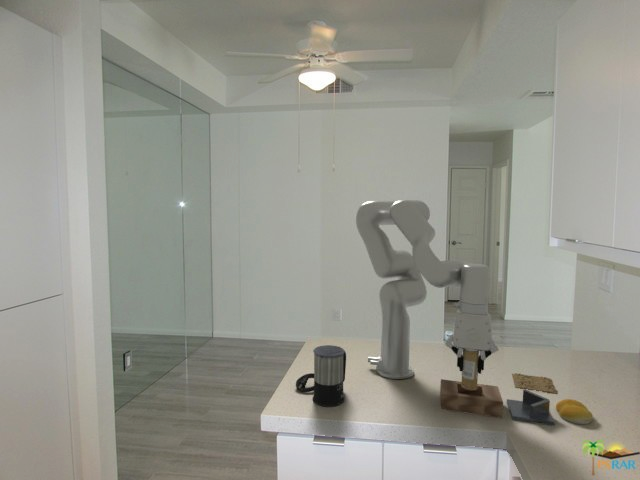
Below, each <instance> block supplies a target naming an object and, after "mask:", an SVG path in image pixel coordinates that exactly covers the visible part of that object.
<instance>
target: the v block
mask: <svg viewBox="0 0 640 480" xmlns="http://www.w3.org/2000/svg"><path fill="white" fill-rule="evenodd" d="M550 402H551V400H550V399H549V398H546V397H544V396H541V395H539V394H538V393H535V392H533V391H531V390H526V389H522V400H516V399H515V400H514V399H510V398H509V399H506V405H507V408H508V411H509V413H510V417H511V420H512V419H513V420H514V421H521V422H527V423H533V424H541V425H547V426H555V421H554V418H553V417H552V415H551V413H550V407H551V405H550V404H551V403H550Z"/></svg>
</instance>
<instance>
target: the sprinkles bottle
mask: <svg viewBox="0 0 640 480" xmlns="http://www.w3.org/2000/svg"><path fill="white" fill-rule="evenodd" d="M462 355H463V369H462V371H461V381H460V382H461V386H462V388H464V389H466V390H471V391H472V390H476V389H477V388H478V386H477V384H478V379H479V378H478V377H479V373H478V359H479V355H480V351H479V350H471V349H463V352H462Z"/></svg>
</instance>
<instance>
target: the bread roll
mask: <svg viewBox="0 0 640 480" xmlns="http://www.w3.org/2000/svg"><path fill="white" fill-rule="evenodd" d="M555 410H556V412H557V413H558V415H559V416H560V418H561V419H563V420H565V421H568V422H570V423H573V424H576V425H577V424H578V425H587V424H590V423H592V421H593V418H594V416H593V414H592V412H591V411H590V410H589V408H588V407H587V406H586V405H584V404H583V403H582V402H580V401H578V400H576V399H571V398H565V399H562V400H560V401H558V402H557V403H556V405H555Z"/></svg>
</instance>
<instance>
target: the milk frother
mask: <svg viewBox="0 0 640 480" xmlns="http://www.w3.org/2000/svg"><path fill="white" fill-rule="evenodd" d="M312 352H313V356H314V358H313V360H314V364H313V365H314V366H313V373H307V374H303V375H302V376H300V377H299V378H297V380H296V383H295V387H296V389H297V390H299V391H300V392H303V393H312V392H313V396H312V400H313V402H314V403H315V404H317V406H318V405H319V406H321V407H327V408H328V407H337V406H339V405H341V404H342V403H344V402H345V396H344V382H345V379H346V366H347V353H346V350H344V348H343V347H340V346H337V345H333V344H331V345H329V344H326V345H320V346H317V347H315V348H314V349H313V351H312ZM309 379H313V386H310V387H306V386H307V383H308V381H309Z"/></svg>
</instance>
